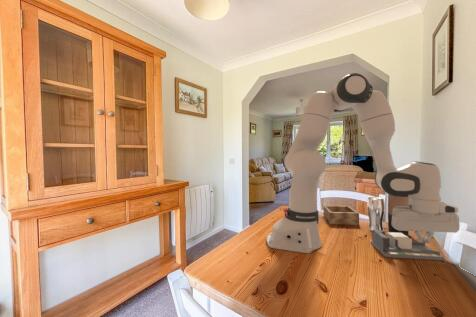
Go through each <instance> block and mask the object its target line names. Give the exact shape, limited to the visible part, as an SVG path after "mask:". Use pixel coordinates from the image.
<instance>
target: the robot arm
mask: <svg viewBox="0 0 476 317" xmlns="http://www.w3.org/2000/svg"><path fill="white" fill-rule="evenodd" d="M350 108H351V109H352V110H354V112H355V113H356V115H357V117H358V121H359V126H360V128H361V130H362V133H363V135H364V138H365V139H366V141H367V143H368V145H369V147H370V149H371V152H372V156H373V159H374V163H375V169H376V170H375V174H374V183H375V185H376V187H377V188H379V189H380V190H382V191H383V192H385V193H386V194H387V195H388V194H390V195H393V196H404V195H408V205H397V206H395V207H394V208H393V209H392V214H393V215H392V221H391V225H392V226H393V228H395V229H396V230H399V231H409V232H414V234H415V236H416V237H417V242H420V243H425V244H430V243H431V239H432V238H433V237H434V235H435V234H434V233H452V234H453V233H454V234H455V233H458V232H459V231H460V227H461V226H460V218H459V217H460V216H459V215H458V213H459V208H458V207H457V206H455V205H451V204H448V203H445V202H442V199H441V198H442V197H441V195H440V190H441V187H442V179H441V172H440V171H441V170H440V168H439V167H438V166H437V165H436V164H434V163H430V162H424V161H423V162H422V161H411V162H410V163H408V164H406V165H404V166H401V167H398V168H396V166H395V163H394V159H393V155H392V152H391V147H390V145H391V144H390V143H391V140H392V137H393V136H394V134H395V131H396V122H395V116H394V114H393V111H392V108H391V105H390V103H389V101H388V99H387V97H386V96H385V94H384V92H382V91H381V90H375V89H374V90H373V85H372V84H370V82H369V80H368V79H367V77H365V76H364V75H363V74H361V73H357V72H353V73H350V74H347V75H345V76H344V77H342V78H341V79H340V80H339V81H338V82H337V83H336V84H335V85H334V86H333V87H332V89H330V91H323V90H321V91H316V92H313V93H312V95H311V96H310V98H309V100H308V101H307V103H306V106H305V108H304V111H303V113H302V114H303V115H302V117H301V120H300V124H299V126H298V129H297V133H296V135H295V137H294V139H293V141H292V144H291V146H290V148H289V150H288V153H287V154H286V155H285V157H284V159H283V160H284V161H283V162H284V166H285V169H286V170H287V172H289V173H291V174H292V180H291V185H290V188H289V190H288V193H289V195H288V198H289V199H288V200H289V207H287V206H285V207H283V209H282V211H283V212H284V217H282V218H281V219H280V220H277V222H275V223H273V226H272V229H271V232H269V234H267V236H266V244H267V246H268V247H269V248H271V249H277V250H283V251H289V252H296V253H303V254H310V253H312V252H313V251H315V250H318V249H320V248H322V246H323V243H322V240H321V236H320V232H319V221H320V219H319V218H320V217H319V216H320V215H319V214H320V213H319V210H318V190H319V183H320V180H321V177H322V175H323V173H324V172H325V170H326V168H327V167H326V166H327V163H326V160H325V157H324V156H323V155H322V154H321V153H320V152H318V151H317V150H318V149H319V148H320V146H321V144H322V143H324V142H325V139H326V136H327V132H328V129H329V126H330V123H331V120H332V117H333V116H332V115H333V114H334V113H337V112H338V113H341V112H345V111H347V110H348V109H350ZM396 207H397V208H396ZM423 232H424V233H425V235H424V236H422V235H423Z"/></svg>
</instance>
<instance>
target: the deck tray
mask: <svg viewBox="0 0 476 317" xmlns="http://www.w3.org/2000/svg"><path fill="white" fill-rule="evenodd" d="M322 207H323V210H322V211H323V213H322V214H323V215H324V217H323V218H325V219H326V221H327V220H328V221H327V222H328V223H329V224H330V225H350V226H351V225H354V226H359V225H360V213H359V212H358V211H356V210H355V209H354V208H352V207H351V206H350V205H322Z"/></svg>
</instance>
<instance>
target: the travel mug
mask: <svg viewBox="0 0 476 317" xmlns="http://www.w3.org/2000/svg"><path fill="white" fill-rule="evenodd" d="M397 205H408V195H404V196H393V195H390V194H388V193H387V224H388V228H387V229H388V232H394V233H403V234H404V235H406V236H407V237H409V232H410V231H399V230H396V229H395V228H393V226H392V225H391V221H392V215H393V214H392V209H393V208H394V207H395V206H397ZM396 208H397V207H396Z"/></svg>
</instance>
